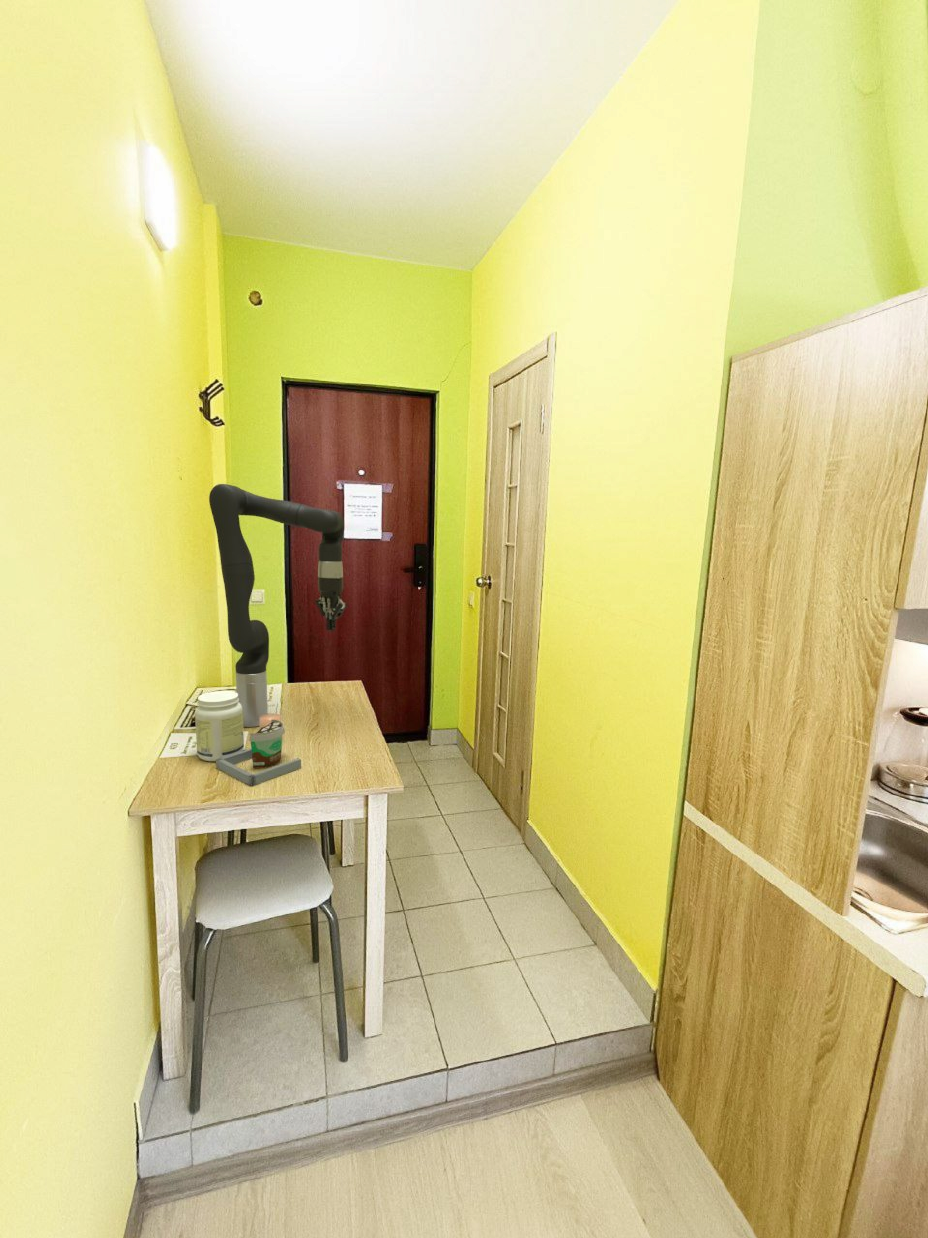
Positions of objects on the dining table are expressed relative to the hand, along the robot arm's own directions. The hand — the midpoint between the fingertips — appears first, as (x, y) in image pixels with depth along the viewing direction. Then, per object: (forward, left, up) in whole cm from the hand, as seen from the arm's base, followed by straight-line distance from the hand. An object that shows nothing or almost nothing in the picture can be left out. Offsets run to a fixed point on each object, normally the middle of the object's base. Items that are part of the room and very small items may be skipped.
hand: (331, 630), depth 184 cm
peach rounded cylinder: (-1, -22, -31) cm, 38 cm away
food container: (+11, -30, -31) cm, 45 cm away
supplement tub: (-4, -36, -31) cm, 48 cm away
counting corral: (+12, -34, -31) cm, 48 cm away
